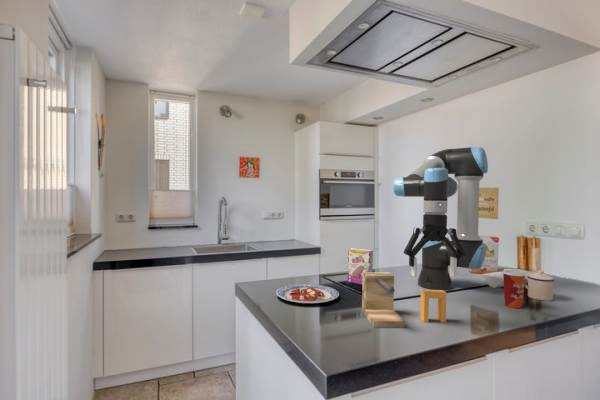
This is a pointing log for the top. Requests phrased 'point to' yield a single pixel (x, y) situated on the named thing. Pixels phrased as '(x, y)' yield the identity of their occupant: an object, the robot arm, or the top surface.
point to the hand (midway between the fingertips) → (433, 276)
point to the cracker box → (489, 256)
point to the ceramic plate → (307, 293)
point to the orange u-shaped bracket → (425, 304)
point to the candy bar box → (359, 264)
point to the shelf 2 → (499, 278)
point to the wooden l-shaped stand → (380, 300)
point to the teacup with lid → (540, 286)
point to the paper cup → (513, 287)
